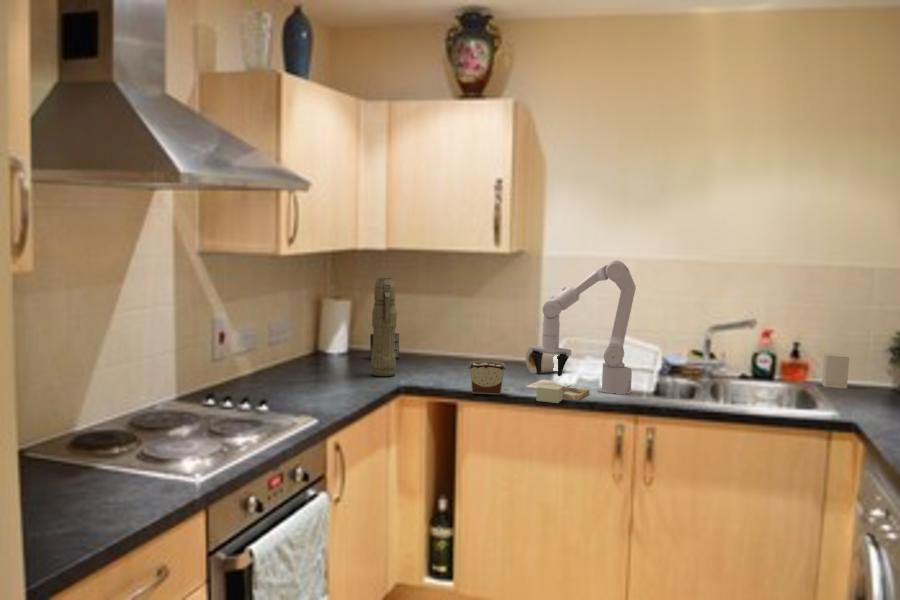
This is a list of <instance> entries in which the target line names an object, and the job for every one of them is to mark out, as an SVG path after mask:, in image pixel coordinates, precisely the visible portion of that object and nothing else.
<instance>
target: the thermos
mask: <svg viewBox="0 0 900 600" xmlns="http://www.w3.org/2000/svg"><path fill="white" fill-rule="evenodd" d="M373 292H374V295H373V297H374V299H373V300H374V303H373V305H374V307H373V309H372V314H371V317H372V318H371V324H372V325H371V326H372V328H373V333H372V334H373V353H372V356H371V359H370V361H371V363H370V367H371V375H372V376H375V377H392V376H395V375H396V365H397V363H396V361H397V359H396V356H395V353H394V349H395V333H396V328H397V314H398V313H397V309H396V303H395V301H396V284H395V280H394V279H392V278H391V277H379V278H377V279H376V280H375V285H374V291H373Z"/></svg>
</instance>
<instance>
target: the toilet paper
mask: <svg viewBox="0 0 900 600" xmlns="http://www.w3.org/2000/svg"><path fill="white" fill-rule="evenodd" d="M546 352H549V351H546ZM532 353H533V352H530V347H529V348H528V349H527V351H526V354H525V355H526V356H525V364H526V368H527V370H528V372H530V373H532V374H537V370H536V366H535V363H534V360H533V358H532V356H531V354H532ZM555 355H558V356H559V354H549V353H543V356H542V362H541V373H540V374H545V373H548V374H549V373H554V372H553V368H554V363H553V357H554V356H555Z"/></svg>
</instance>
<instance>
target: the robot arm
mask: <svg viewBox="0 0 900 600" xmlns="http://www.w3.org/2000/svg"><path fill="white" fill-rule="evenodd" d="M607 280H610V281H612V282H613V283H614V284H615V285H616V286H617V287H618V289H619V290H620V294H619V298H618V304H617V307H616V313H615V316H614V318H615V319H614V322H613V326H612V331H611V336H610V340H609V343H608V346H607V347H606V349H605V351H604V352H603V361H604V362H602V373H601V375H602V376H601V377H602V378H601V388H599V389H598V390H597V392H598V393H604V394H613V393H616V395H621V394H623V395H622V396H625V394H626V395H627V393H628V392H629V393H631V392H632V378H633V377H632V376H633V375H632V374H633V371H632V368H631V367H629V366H625V365H626V364H625V363H624V362H623V360H624V357H625V350H624V344H625V339H626V334H627V331H628V329H627V328H628V325H629V320H630V316H631V315H630V314H631V311H632V307H633V302H634V299H635V298H634V297H635V294H636V290H637V289H636V284H635V281H634V279H633V276H632V275H631V271H630V269H629V267H627V266H626V264H625V263H624V262H622V261H620V260H613V261H611V262H609V263H608V264H605V265H604V266H602V267H599V268H598V269H596V270H594V271H593V272H591V274H589V275H588V276H586V278H584V279H583V280H581V281H580V282H579V283H578V284H576V285H575V286H572V285H571V286H570V285H569V286H567V287H566V286H565V287H563V288H562V290H561V291H560V292H559V293H558V294H556V295H555V296H554V295H553V296H551V298H550V300H546V301H545V303H544V304H543V306H542V310H541V311H542V313H543V317H542V320H543V321H542V336H541V346H540V345H531V346H529V348H530V352H533V353H532V354H531V356H532V358H533V360H534V363H535V366H536V370H537V373H536V374H542V373H541V362H542V356H543V353H549V354H559V356H557V359H558V372H557V376H558V377H561V376H562V375H563V371H564V368H565V365H566V363H567V361H568V360H569V358H570V356H572V349H568V348H564V347H563V348H561V347H560V346H559V345H560V314H561V312H562V311H566V309H568V308H569V307H571V306H572V305H573V304H575V303H576V302H578V301H579V300H580V297H581V294H582V293H584V292H585V291H586V290H588V289H589V288H590V287H593V286H594V285H595V284H597V283H598V282H601V281H607ZM546 351H549V352H546ZM630 391H631V392H630ZM629 393H628V394H629Z"/></svg>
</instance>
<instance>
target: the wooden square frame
mask: <svg viewBox="0 0 900 600" xmlns="http://www.w3.org/2000/svg"><path fill="white" fill-rule="evenodd" d="M572 393H573V394H572ZM588 395H590V389H585V388H577V387H571V386H568V387H563V399H567V400H571V401H572V400H573V401H580V400H581V399H583V398H584V397H586V396H588Z"/></svg>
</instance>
